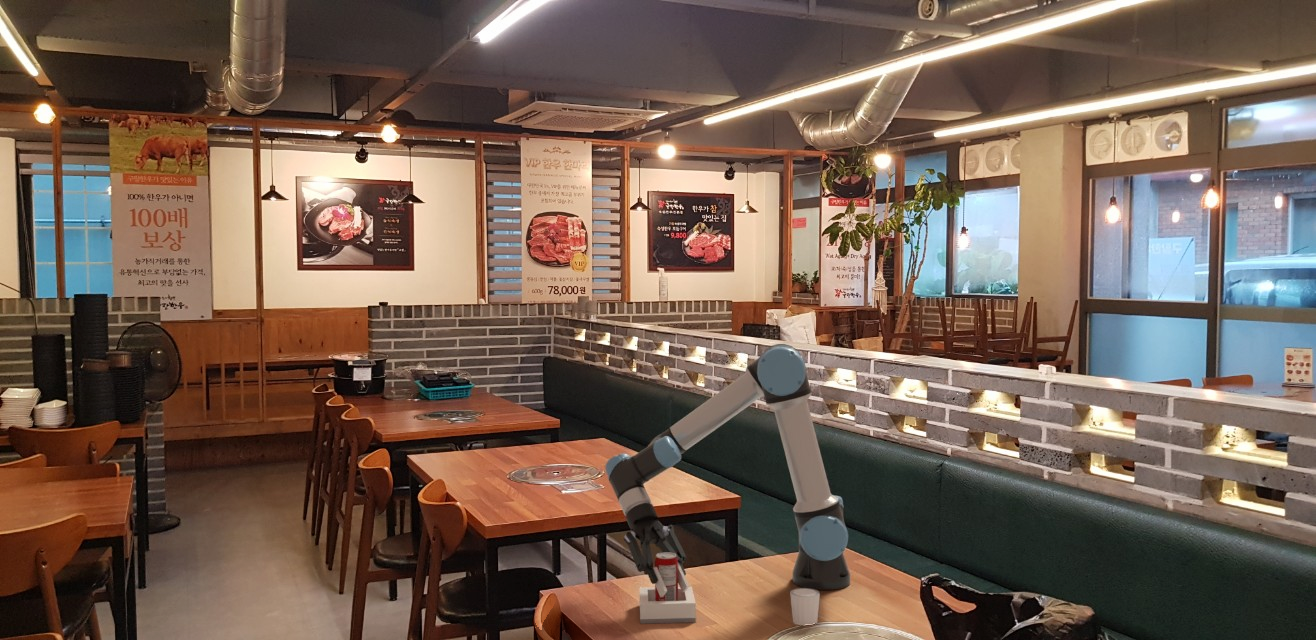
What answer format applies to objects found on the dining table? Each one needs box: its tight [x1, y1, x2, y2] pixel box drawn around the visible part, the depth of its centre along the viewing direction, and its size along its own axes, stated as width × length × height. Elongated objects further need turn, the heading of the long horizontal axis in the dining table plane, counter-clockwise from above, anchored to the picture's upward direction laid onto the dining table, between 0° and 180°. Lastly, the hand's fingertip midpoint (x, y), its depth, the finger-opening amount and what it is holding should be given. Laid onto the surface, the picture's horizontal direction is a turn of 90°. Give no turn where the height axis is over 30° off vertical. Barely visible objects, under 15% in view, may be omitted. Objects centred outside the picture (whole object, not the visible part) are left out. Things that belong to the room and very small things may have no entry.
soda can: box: [654, 552, 679, 601], centre depth 230 cm, size 6×6×12 cm
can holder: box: [638, 585, 697, 624], centre depth 230 cm, size 13×13×4 cm
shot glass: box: [789, 587, 821, 626], centre depth 224 cm, size 7×7×7 cm
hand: (674, 591), depth 227 cm, fingers closed on soda can, 5 cm apart
